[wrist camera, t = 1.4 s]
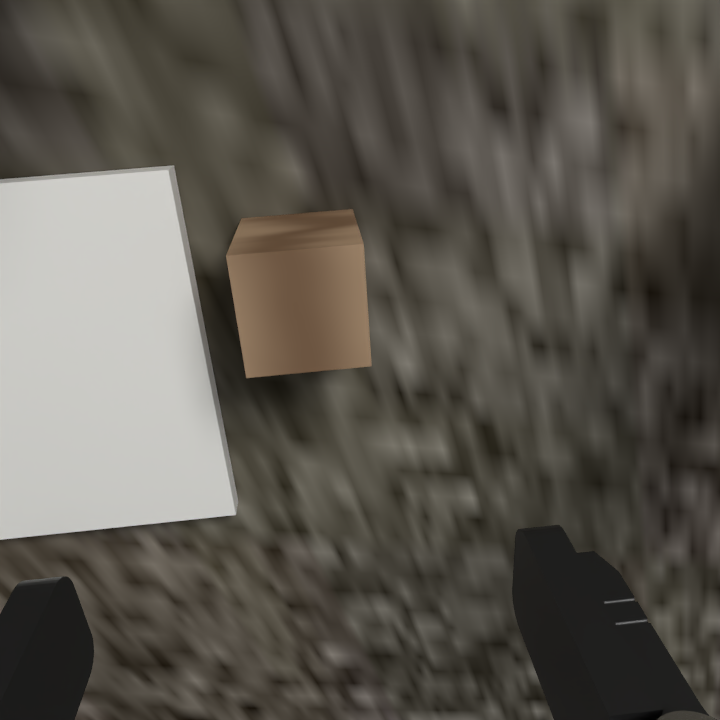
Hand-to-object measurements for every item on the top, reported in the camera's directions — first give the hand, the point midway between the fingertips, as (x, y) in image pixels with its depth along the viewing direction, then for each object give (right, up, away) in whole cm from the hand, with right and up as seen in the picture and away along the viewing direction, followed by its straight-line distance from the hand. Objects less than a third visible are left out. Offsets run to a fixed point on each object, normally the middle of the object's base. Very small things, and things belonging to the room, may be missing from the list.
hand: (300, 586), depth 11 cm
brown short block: (-2, +8, +18) cm, 20 cm away
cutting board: (-15, +3, +19) cm, 24 cm away
